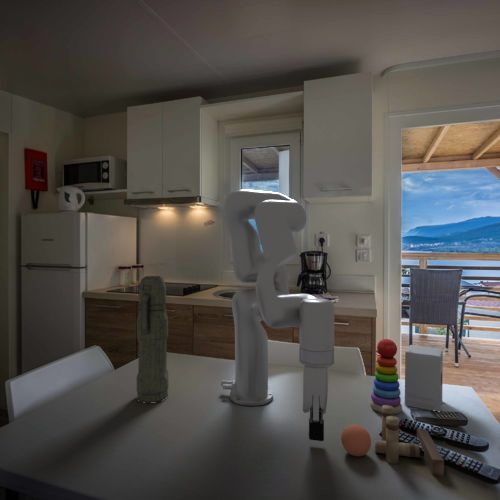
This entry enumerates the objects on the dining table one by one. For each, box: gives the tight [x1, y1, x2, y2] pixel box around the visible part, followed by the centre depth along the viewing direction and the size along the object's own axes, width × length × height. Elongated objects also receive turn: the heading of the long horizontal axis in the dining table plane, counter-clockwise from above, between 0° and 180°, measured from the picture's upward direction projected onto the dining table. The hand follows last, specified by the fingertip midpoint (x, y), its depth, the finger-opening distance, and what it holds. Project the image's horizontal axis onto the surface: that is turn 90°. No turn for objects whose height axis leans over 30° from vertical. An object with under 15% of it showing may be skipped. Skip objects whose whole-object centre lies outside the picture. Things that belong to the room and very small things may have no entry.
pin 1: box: [381, 405, 395, 441], centre depth 79 cm, size 2×2×8 cm
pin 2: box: [385, 415, 400, 465], centre depth 74 cm, size 2×2×8 cm
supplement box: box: [404, 344, 444, 412], centre depth 101 cm, size 9×9×15 cm
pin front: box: [374, 439, 421, 459], centre depth 76 cm, size 2×2×8 cm
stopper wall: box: [416, 428, 445, 477], centre depth 75 cm, size 2×12×3 cm, turn 168°
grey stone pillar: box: [136, 275, 169, 403], centre depth 105 cm, size 9×12×35 cm
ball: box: [340, 423, 372, 457], centre depth 76 cm, size 6×6×6 cm
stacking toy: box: [369, 338, 403, 415], centre depth 97 cm, size 8×8×19 cm
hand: (316, 438), depth 80 cm, fingers closed
